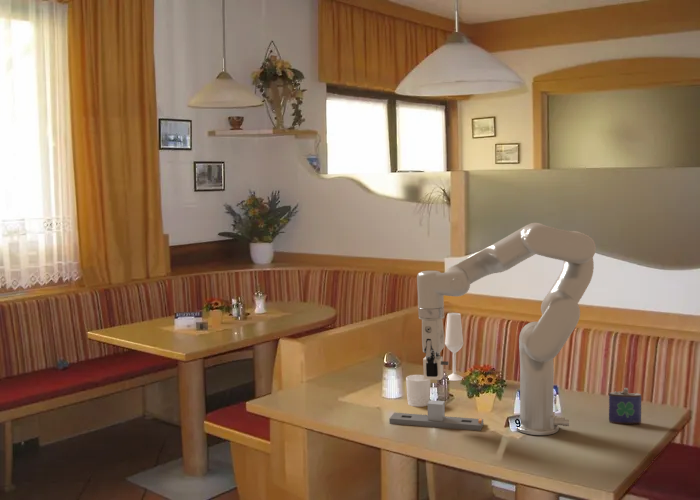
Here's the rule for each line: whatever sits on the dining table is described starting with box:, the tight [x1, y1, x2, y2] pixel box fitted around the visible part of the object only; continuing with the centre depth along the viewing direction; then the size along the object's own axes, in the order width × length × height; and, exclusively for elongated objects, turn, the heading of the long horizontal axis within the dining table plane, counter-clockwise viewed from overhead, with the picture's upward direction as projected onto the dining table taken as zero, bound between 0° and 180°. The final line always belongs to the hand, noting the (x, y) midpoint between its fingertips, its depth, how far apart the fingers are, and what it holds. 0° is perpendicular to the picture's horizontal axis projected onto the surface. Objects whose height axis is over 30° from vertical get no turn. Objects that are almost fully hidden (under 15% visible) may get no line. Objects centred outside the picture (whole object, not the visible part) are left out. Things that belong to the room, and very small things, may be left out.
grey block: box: [427, 399, 446, 421], centre depth 234 cm, size 4×4×6 cm
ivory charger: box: [422, 355, 449, 384], centre depth 232 cm, size 7×4×8 cm, turn 72°
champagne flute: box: [444, 312, 464, 382], centre depth 289 cm, size 7×7×24 cm
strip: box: [389, 412, 484, 432], centre depth 234 cm, size 27×6×4 cm, turn 73°
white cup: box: [405, 374, 431, 408], centre depth 254 cm, size 8×8×10 cm
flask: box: [608, 387, 642, 425], centre depth 236 cm, size 9×3×11 cm, turn 78°
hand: (433, 373), depth 233 cm, fingers closed on ivory charger, 4 cm apart
